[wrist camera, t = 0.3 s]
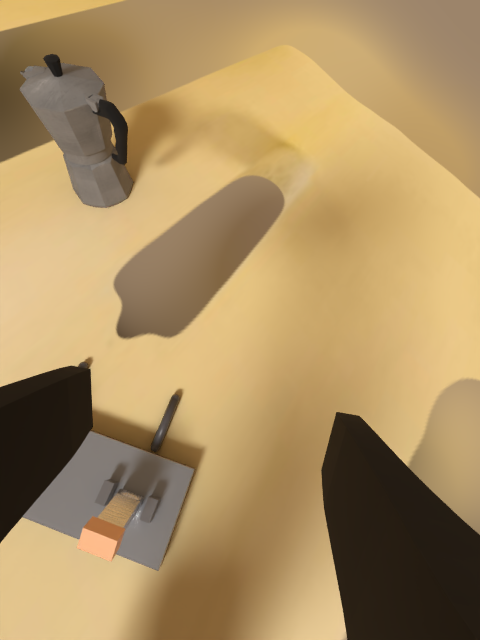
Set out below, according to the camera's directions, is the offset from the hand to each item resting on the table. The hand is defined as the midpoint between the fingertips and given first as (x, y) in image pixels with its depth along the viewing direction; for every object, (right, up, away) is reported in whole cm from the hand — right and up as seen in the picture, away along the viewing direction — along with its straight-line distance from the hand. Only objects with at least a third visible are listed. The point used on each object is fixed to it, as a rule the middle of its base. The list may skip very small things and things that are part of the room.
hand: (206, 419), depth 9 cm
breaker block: (-15, -11, +26) cm, 32 cm away
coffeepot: (-20, +24, +41) cm, 52 cm away
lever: (-10, -15, +21) cm, 28 cm away
